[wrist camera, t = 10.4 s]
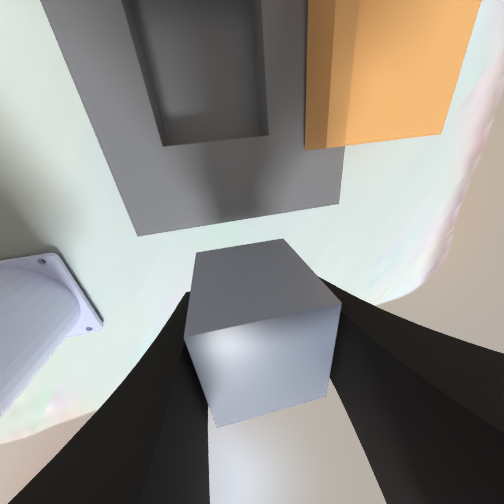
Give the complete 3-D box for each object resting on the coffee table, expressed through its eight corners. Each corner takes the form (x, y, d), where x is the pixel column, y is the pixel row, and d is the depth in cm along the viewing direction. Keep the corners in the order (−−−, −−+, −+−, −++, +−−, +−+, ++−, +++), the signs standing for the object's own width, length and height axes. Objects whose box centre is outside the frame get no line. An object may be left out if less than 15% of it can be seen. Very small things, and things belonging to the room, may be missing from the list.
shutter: (304, 150, 12) (326, 148, 9) (309, -88, 8) (348, -181, 6) (431, 135, 13) (475, 130, 11) (491, -79, 9) (580, -153, 7)
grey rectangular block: (214, 314, 11) (217, 428, 6) (197, 245, 9) (183, 337, 4) (279, 301, 12) (326, 396, 7) (277, 232, 10) (341, 302, 5)
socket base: (150, 222, 15) (137, 236, 12) (8, -167, 7) (-102, -345, 5) (318, 196, 17) (338, 203, 14) (336, -139, 9) (386, -257, 7)
